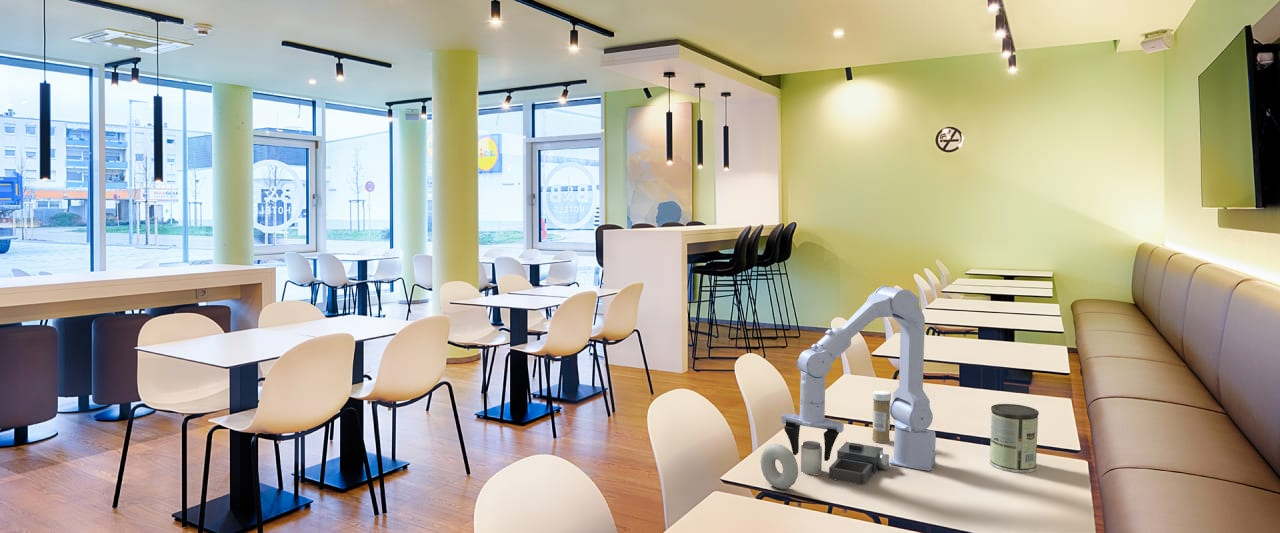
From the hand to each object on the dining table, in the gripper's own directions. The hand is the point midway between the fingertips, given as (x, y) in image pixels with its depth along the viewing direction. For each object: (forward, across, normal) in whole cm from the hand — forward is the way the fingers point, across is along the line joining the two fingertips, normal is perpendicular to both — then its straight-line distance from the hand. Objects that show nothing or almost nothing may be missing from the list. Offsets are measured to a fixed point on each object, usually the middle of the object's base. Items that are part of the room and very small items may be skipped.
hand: (811, 456), depth 176 cm
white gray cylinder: (+4, 0, 0) cm, 4 cm away
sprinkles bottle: (+4, +9, +32) cm, 34 cm away
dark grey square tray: (+3, +9, +2) cm, 10 cm away
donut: (+4, -3, -14) cm, 15 cm away
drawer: (+3, +9, +10) cm, 14 cm away
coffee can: (+4, +41, +29) cm, 50 cm away
